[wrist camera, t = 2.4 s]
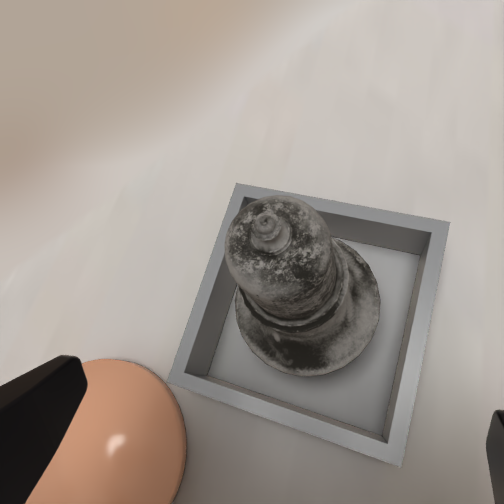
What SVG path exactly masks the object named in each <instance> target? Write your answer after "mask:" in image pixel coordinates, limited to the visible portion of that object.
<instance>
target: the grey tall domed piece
mask: <svg viewBox="0 0 504 504" xmlns="http://www.w3.org/2000/svg"><path fill="white" fill-rule="evenodd" d="M224 247H225V259H226V263H227V266H228V268H229V271H230V274H231V276H232V277H233V279H234V280H235V281H236V283H237V284H238V288H237V293H236V298H235V308H236V320H237V323H238V326H239V329H240V332H241V335H242V337H243V338H244V340H245V341H246V343H247V344H248V346H249V347H250V349H251V350H252V352H253V353H254V354H256V355H257V356H258V357H259V358H260V359H261V360H262V361H264V362H265V363H266V364H267V365H269V366H271V367H273V368H275V369H278V370H280V371H282V372H284V373H288V374H293V375H299V376H315V375H325V374H327V373H330V372H333V371H335V370H338V369H340V368H343V367H344V366H346V365H347V364H348V363H350V362H351V361H352V360H354V359H355V358H356V357H358V356H359V355H360V354H361V352H362V351H363V350H364V349H365V347H366V346H367V345H368V343H369V342H370V341H371V339H372V337H373V334H374V331H375V329H376V326H377V324H378V321H379V311H380V296H379V291H378V285H377V281H376V279H375V277H374V275H373V273H372V271H371V269H370V267H369V265H368V264H367V263H366V262H365V261H364V259H363V258H362V257H361V256H360V255H359V254H358V253H357V252H356V251H355V250H354V249H352V248H351V247H349V246H348V245H346V244H345V243H343V242H342V241H340V240H337V239H334V238H331V233H330V231H329V229H328V227H327V225H326V223H325V221H324V219H323V218H322V217H321V216H320V215H319V214H318V213H317V211H316V210H315V209H314V208H313V207H311V206H310V205H308V204H307V203H305V202H304V201H302V200H300V199H297V198H294V197H291V196H283V195H273V196H267V197H263V198H260V199H258V200H256V201H253V202H251V203H250V204H248V205H247V206H246V207H244V208H243V209H242V210H241V211H240V212H239V213H238V214H237V215H236V217H235V218H234V219H233V220H232V222H231V224H230V226H229V229H228V231H227V234H226V239H225V244H224Z"/></svg>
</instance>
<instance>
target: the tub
mask: <svg viewBox="0 0 504 504" xmlns="http://www.w3.org/2000/svg"><path fill="white" fill-rule="evenodd" d="M273 195H283V196H291V197H294V198H297V199H300V200H302V201H304V202H305V203H307V204H308V205H310V206H311V207H313V208H314V209H315V210H316V211H317V213H318V214H319V215H320V216H321V217H322V218H323V219H324V221H325V223H326V225H327V227H328V229H329V231H330V233H331V236H332V237H337V238H342V239H346V240H351V241H356V242H361V243H366V244H370V245H375V246H380V247H385V248H389V249H394V250H399V251H404V252H408V253H413V254H418V255H421V256H420V261H419V265H418V270H417V275H416V279H415V284H414V289H413V293H412V298H411V303H410V308H409V312H408V317H407V322H406V326H405V331H404V336H403V341H402V345H401V350H400V355H399V359H398V364H397V369H396V373H395V378H394V383H393V388H392V392H391V397H390V402H389V406H388V411H387V416H386V420H385V425H384V430H383V435H382V436H380V435H378V434H375V433H372V432H369V431H366V430H363V429H360V428H357V427H355V426H352V425H349V424H346V423H343V422H340V421H337V420H334V419H331V418H329V417H326V416H323V415H320V414H317V413H314V412H311V411H308V410H306V409H303V408H300V407H297V406H294V405H291V404H288V403H285V402H282V401H280V400H277V399H274V398H271V397H268V396H265V395H262V394H259V393H257V392H254V391H251V390H248V389H245V388H242V387H239V386H236V385H233V384H231V383H228V382H225V381H222V380H219V379H216V378H213V377H210V376H208V375H207V374H208V371H209V368H210V365H211V362H212V359H213V356H214V353H215V349H216V346H217V343H218V340H219V337H220V334H221V331H222V328H223V325H224V322H225V319H226V316H227V313H228V310H229V307H230V303H231V300H232V297H233V294H234V291H235V288H236V285H237V283H236V281H235V280H234V279H233V277H232V276H231V274H230V271H229V268H228V266H227V263H226V259H225V247H224V244H225V239H226V234H227V231H228V229H229V226H230V224H231V222H232V220H233V219H234V218H235V217H236V215H237V214H238V213H239V212H240V211H241V210H242V209H243V208H244V207H246V206H247V205H248V204H250V203H251V202H253V201H256V200H258V199H260V198H263V197H267V196H273ZM449 225H450V222H447V221H441V220H436V219H430V218H425V217H419V216H414V215H409V214H403V213H398V212H392V211H387V210H381V209H376V208H370V207H365V206H359V205H354V204H348V203H343V202H338V201H332V200H327V199H321V198H316V197H310V196H305V195H299V194H294V193H288V192H283V191H277V190H272V189H266V188H261V187H256V186H250V185H245V184H239V183H236V185H235V188H234V191H233V194H232V196H231V199H230V202H229V205H228V208H227V211H226V214H225V217H224V219H223V222H222V225H221V228H220V231H219V234H218V237H217V239H216V242H215V245H214V248H213V251H212V254H211V257H210V260H209V262H208V265H207V268H206V271H205V274H204V277H203V280H202V282H201V285H200V288H199V291H198V294H197V297H196V300H195V303H194V305H193V308H192V311H191V314H190V317H189V320H188V323H187V325H186V328H185V331H184V334H183V337H182V340H181V343H180V346H179V348H178V351H177V354H176V357H175V360H174V363H173V366H172V369H171V371H170V374H169V377H168V380H167V382H168V383H170V384H173V385H176V386H178V387H181V388H184V389H187V390H189V391H192V392H195V393H198V394H200V395H203V396H206V397H209V398H211V399H214V400H217V401H220V402H222V403H225V404H228V405H231V406H233V407H236V408H239V409H242V410H244V411H247V412H250V413H252V414H255V415H258V416H261V417H263V418H266V419H269V420H272V421H274V422H277V423H280V424H283V425H285V426H288V427H291V428H294V429H296V430H299V431H302V432H305V433H307V434H310V435H313V436H316V437H318V438H321V439H324V440H326V441H329V442H332V443H335V444H337V445H340V446H343V447H346V448H348V449H351V450H354V451H357V452H359V453H362V454H365V455H368V456H370V457H373V458H376V459H379V460H381V461H384V462H387V463H390V464H392V465H395V466H398V467H400V468H402V463H403V458H404V453H405V448H406V443H407V438H408V433H409V428H410V423H411V418H412V412H413V407H414V402H415V397H416V392H417V387H418V382H419V377H420V372H421V367H422V362H423V357H424V352H425V347H426V342H427V337H428V332H429V326H430V321H431V316H432V311H433V306H434V301H435V296H436V291H437V286H438V281H439V276H440V271H441V266H442V261H443V256H444V251H445V246H446V241H447V235H448V230H449Z"/></svg>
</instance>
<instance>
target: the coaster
mask: <svg viewBox="0 0 504 504" xmlns="http://www.w3.org/2000/svg"><path fill="white" fill-rule="evenodd" d="M82 366H83V369H84V372H85V375H86V378H87V381H88V387H87V391H86V394H85V396H84V398H83V400H82V402H81V404H80V406H79V408H78V410H77V412H76V414H75V416H74V418H73V420H72V422H71V424H70V426H69V428H68V430H67V432H66V434H65V436H64V438H63V440H62V442H61V444H60V446H59V448H58V450H57V451H56V453H55V455H54V457H53V458H52V460H51V462H50V463H49V465H48V467H47V468H46V470H45V472H44V473H43V475H42V477H41V478H40V480H39V481H38V483H37V485H36V486H35V488H34V490H33V491H32V493H31V495H30V496H29V498H28V499H27V501H26V503H25V504H171V503H172V502H173V500H174V498H175V496H176V494H177V491H178V488H179V486H180V483H181V480H182V476H183V472H184V468H185V461H186V446H187V442H186V430H185V425H184V420H183V417H182V413H181V410H180V407H179V405H178V403H177V401H176V399H175V397H174V395H173V394H172V392H171V391H170V389H169V388H168V386H167V385H166V384H165V383H164V382H163V381H162V380H161V379H160V378H159V377H158V376H157V375H156V374H155V373H153V372H152V371H150V370H148V369H147V368H145V367H143V366H141V365H138V364H135V363H132V362H128V361H121V360H112V359H98V360H93V361H88V362H85V363H82Z"/></svg>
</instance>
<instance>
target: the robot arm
mask: <svg viewBox="0 0 504 504" xmlns="http://www.w3.org/2000/svg"><path fill="white" fill-rule="evenodd" d="M87 387H88V381H87V378H86V375H85V372H84V369H83V366H82V363H81V361H80V359H79V358H78V357H76V356H69V355H60V356H58V357H56V358H54V359H52V360H50V361H48V362H46V363H44V364H43V365H41V366H39V367H37V368H35V369H33V370H31V371H29V372H27V373H25V374H23V375H21V376H19V377H17V378H15V379H13V380H11V381H9V382H8V383H6V384H4V385H2V386H0V504H25V503H26V501H27V499H28V498H29V496H30V495H31V493H32V491H33V490H34V488H35V486H36V485H37V483H38V481H39V480H40V478H41V477H42V475H43V473H44V472H45V470H46V468H47V467H48V465H49V463H50V462H51V460H52V458H53V457H54V455H55V453H56V451H57V450H58V448H59V446H60V444H61V442H62V440H63V438H64V436H65V434H66V432H67V430H68V428H69V426H70V424H71V422H72V420H73V418H74V416H75V414H76V412H77V410H78V408H79V406H80V404H81V402H82V400H83V398H84V396H85V394H86V391H87ZM486 452H487V458H488V464H489V470H490V476H491V482H492V488H493V494H494V500H495V504H504V410H496V411H495V412H494V413H493V416H492V420H491V424H490V428H489V431H488V435H487V440H486Z"/></svg>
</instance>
